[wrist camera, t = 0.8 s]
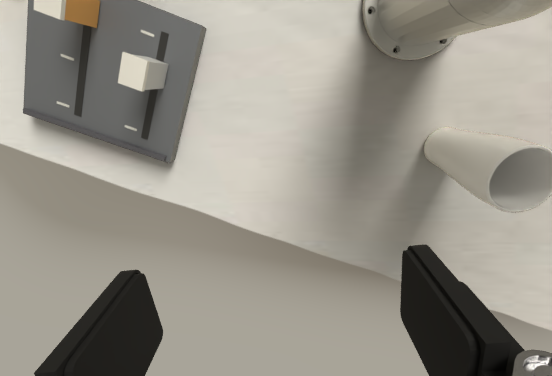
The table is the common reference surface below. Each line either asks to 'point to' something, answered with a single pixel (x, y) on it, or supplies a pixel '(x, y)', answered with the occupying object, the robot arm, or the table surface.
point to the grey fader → (142, 72)
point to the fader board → (112, 75)
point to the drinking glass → (494, 167)
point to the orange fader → (71, 10)
